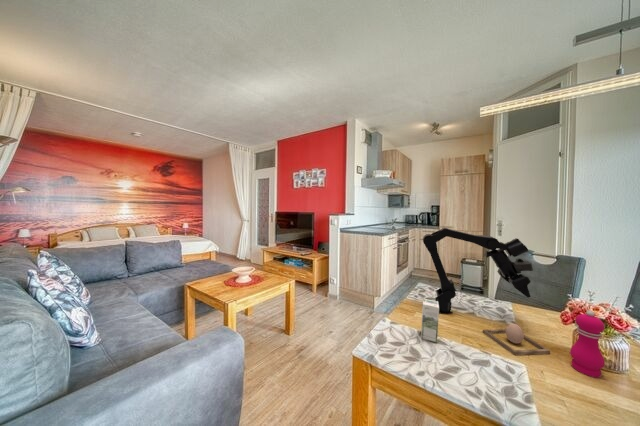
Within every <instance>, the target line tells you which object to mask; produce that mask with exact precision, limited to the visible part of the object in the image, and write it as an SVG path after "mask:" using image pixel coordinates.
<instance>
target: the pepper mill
mask: <svg viewBox="0 0 640 426" xmlns="http://www.w3.org/2000/svg"><path fill="white" fill-rule="evenodd" d="M595 315H596V313H595V312H594V311H593V310H586V313H581V314H577V316H575V323H576V325H577V326H576V328H577V329H576V331H577V333H578V337H577V340H576V341H575V343H573V345H572V346H571V348H570V352H569V354H570V356H571V358H572V359H571V363H570V364H571V367H572V368H573V369H575V370H576V371H577V372H579V373H580V374H583V375H586V376H588V377H591V376H592V377H593V378H600V377H601V376H602V370H601V369H602V368H604V367H605V357H604V356H603V353H602V352H601V350H600V346H599V340H600V339H602V332H604V331H605V328H606V327H605V324H604V322H603V320H601V318H599V317H596V316H595Z"/></svg>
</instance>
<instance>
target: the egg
mask: <svg viewBox="0 0 640 426" xmlns="http://www.w3.org/2000/svg"><path fill="white" fill-rule="evenodd" d="M505 329H506V333H505V336H506V338H507V339H508V341H510V342H511V343H513V344H516V345H517V344H520V343H522V342H523V341H524V339H523V338H524V332H523V329H522V328H521V327H520V326H519V325H518V324H516V323H509V324H508V325H507V326H506V328H505Z"/></svg>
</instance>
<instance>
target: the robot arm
mask: <svg viewBox="0 0 640 426" xmlns="http://www.w3.org/2000/svg"><path fill="white" fill-rule="evenodd" d="M446 237H449V238H453V239H456V240H460V241H464V242H468V243H472V244H475V245H477V246H480V247H482V248H484V249H487V250H485V253H484V254H483V256H484V257H486V258H489V257H491V259H492V261H493V262H494V264H495V267H496V268H497V274H498V275H499V276H500V277H501V278H502V280H505V281H506V282H507V283H509V284H510V285H511V286H512V287H513V288H514V289H516V290H517V291H518V292H519V293H521V294H522V295H524V296H525V297H527V298H531V294H530V290H529V288H528V285H529V284H530V283H531V282H532V280H530V278H529V277H528V276H527V275H525V274H522V272H527V271H530V272H533V271H534V269H533V264H532V263H531V261H526V260H523V259H522V258H516V257H518V256H521V255H525V254H526V253H528V252H529V249H528V248H527V246H526V245H525V244H524V243H523V242H522V241H521V240H520V238H518V237H517V238H514V239H512V240H510V241H507V242H505V243H504V242H503V241H502V242H501V241H499V240H498V239H497V238H496V237H493V236H490V235H483V234H473V233H472V234H471V233H467V232H464V231H459V230H455V229H451V228H447V227H442V228H441V229H439V230H436V231H435V232H432V233H426V234H424V235H423V238H422V241H423V244H424V246H425V247H426V250H427V251H428V252H429V255H430V257H431V260H432V263H433V265H434V268H435V271H436V274H437V276H438V279H439V284H440V287H439V288H438V289H437V290H435V292H436V296H435V299H434V301H438V304H439V314H443V315H446V314H453V311H452V299H454V298H455V297H456V295H457V294H456V292H457V288H456V286H455V284H454V280H453V279H452V278H451V279H449V278H448V275H447V273H446V270H445V267H444V265H443V263H442V260H441V257H440V255H439V251H438V245H437V243H439V241H441V240H443V239H445V238H446ZM511 256H512V257H513V258H515V259H516V260H515V261H513V260H511V258H510V257H511Z"/></svg>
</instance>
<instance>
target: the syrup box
mask: <svg viewBox="0 0 640 426" xmlns="http://www.w3.org/2000/svg"><path fill="white" fill-rule="evenodd" d="M421 313H422V314H421V331H420V333H421V335H420V337H421V340H424V341H428V342H433V343H436V344H437V343H438V333H439V317H440V316H439V315H440V313H439V304H438V301H435V300H431V299H426V298H422V311H421Z"/></svg>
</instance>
